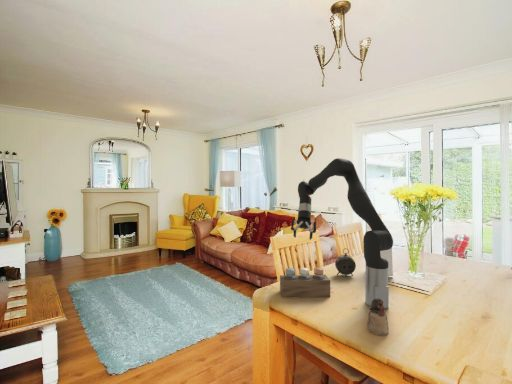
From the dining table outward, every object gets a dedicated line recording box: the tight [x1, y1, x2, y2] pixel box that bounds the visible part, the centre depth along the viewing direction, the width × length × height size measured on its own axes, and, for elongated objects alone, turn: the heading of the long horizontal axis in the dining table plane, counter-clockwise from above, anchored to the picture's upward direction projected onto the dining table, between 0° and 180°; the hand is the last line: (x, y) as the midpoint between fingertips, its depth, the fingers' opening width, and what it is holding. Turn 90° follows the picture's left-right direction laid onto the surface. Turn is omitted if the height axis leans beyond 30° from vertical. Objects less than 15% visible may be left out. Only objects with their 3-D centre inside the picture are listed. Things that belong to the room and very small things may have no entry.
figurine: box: [366, 298, 389, 336], centre depth 99 cm, size 7×7×12 cm
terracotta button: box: [313, 267, 324, 275], centre depth 132 cm, size 4×4×2 cm
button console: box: [279, 274, 331, 298], centre depth 132 cm, size 8×23×8 cm, turn 93°
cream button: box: [299, 267, 310, 276], centre depth 132 cm, size 4×4×2 cm
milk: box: [380, 247, 394, 277], centre depth 161 cm, size 12×12×26 cm
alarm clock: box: [334, 247, 357, 278], centre depth 158 cm, size 11×5×16 cm, turn 84°
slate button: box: [285, 267, 296, 276], centre depth 132 cm, size 4×4×2 cm
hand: (302, 238), depth 154 cm, fingers open, 8 cm apart
